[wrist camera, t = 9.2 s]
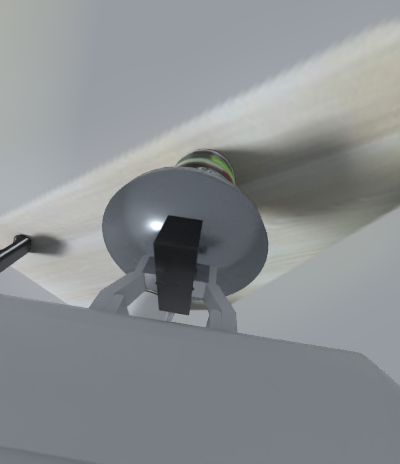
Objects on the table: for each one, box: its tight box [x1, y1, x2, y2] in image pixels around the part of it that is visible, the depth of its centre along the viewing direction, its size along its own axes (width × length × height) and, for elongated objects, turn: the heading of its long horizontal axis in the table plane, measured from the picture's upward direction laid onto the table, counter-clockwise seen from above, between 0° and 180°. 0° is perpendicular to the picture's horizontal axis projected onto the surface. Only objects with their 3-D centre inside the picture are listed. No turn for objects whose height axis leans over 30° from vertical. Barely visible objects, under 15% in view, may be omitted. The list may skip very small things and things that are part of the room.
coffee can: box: [174, 149, 235, 185], centre depth 21 cm, size 10×10×14 cm
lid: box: [102, 166, 268, 315], centre depth 12 cm, size 13×13×4 cm
